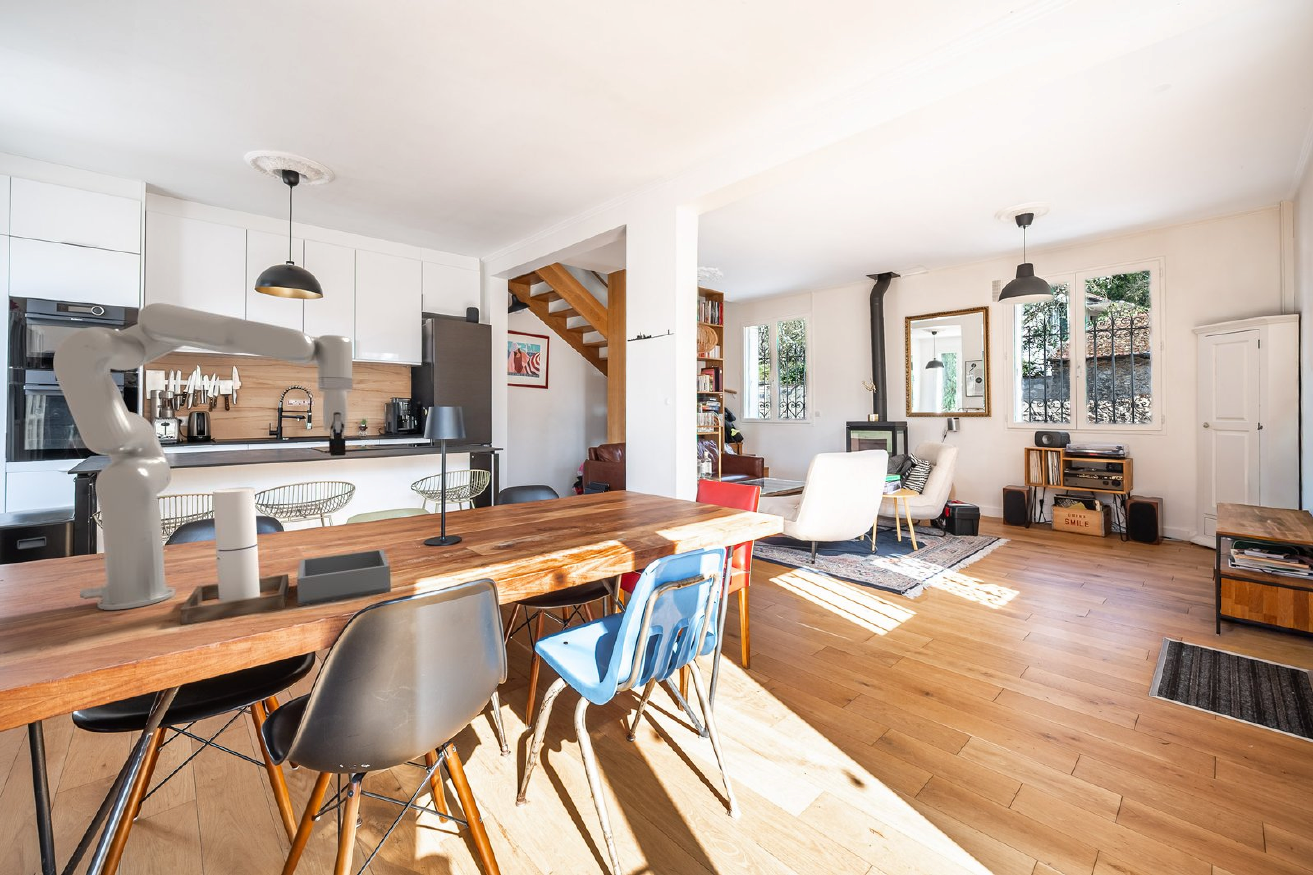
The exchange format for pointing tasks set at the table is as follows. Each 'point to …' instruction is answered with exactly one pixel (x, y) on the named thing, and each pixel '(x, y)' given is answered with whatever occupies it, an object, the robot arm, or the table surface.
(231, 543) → the cylindrical container
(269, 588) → the walnut frame
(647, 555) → the table surface
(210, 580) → the table surface
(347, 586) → the charcoal bin
